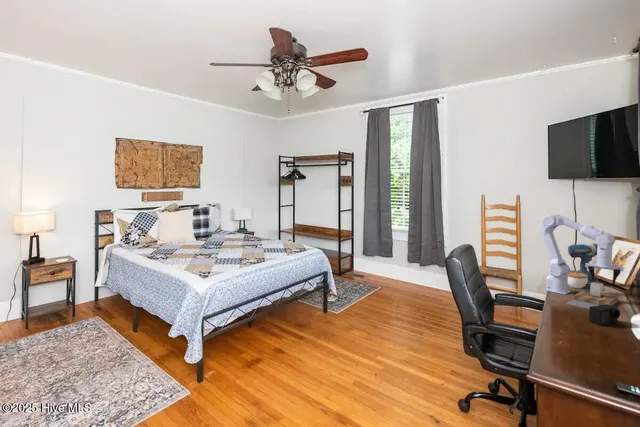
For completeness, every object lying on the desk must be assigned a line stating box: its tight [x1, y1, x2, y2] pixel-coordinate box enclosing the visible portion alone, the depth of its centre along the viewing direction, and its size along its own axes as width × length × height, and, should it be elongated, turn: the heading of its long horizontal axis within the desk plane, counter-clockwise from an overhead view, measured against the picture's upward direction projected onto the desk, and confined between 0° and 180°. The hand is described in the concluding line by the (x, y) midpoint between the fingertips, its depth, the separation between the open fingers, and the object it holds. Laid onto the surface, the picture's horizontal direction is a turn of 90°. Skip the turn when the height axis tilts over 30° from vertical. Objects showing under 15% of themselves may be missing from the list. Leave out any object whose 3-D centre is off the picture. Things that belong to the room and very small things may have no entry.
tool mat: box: [565, 299, 598, 310], centre depth 158 cm, size 14×10×1 cm
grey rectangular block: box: [589, 282, 604, 298], centre depth 165 cm, size 4×4×9 cm
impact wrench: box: [567, 242, 599, 286], centre depth 194 cm, size 8×23×25 cm, turn 78°
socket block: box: [574, 289, 620, 306], centre depth 166 cm, size 14×14×2 cm
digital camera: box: [588, 304, 621, 327], centre depth 137 cm, size 10×5×7 cm, turn 106°
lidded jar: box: [568, 270, 588, 289], centre depth 189 cm, size 11×11×9 cm
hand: (603, 282), depth 163 cm, fingers open, 7 cm apart
